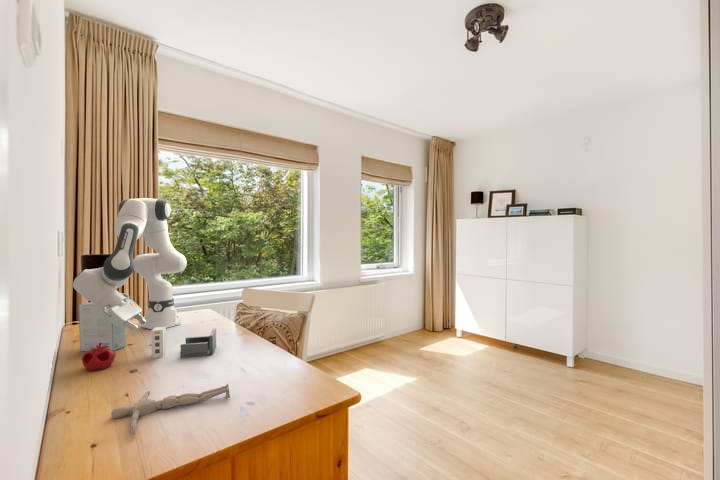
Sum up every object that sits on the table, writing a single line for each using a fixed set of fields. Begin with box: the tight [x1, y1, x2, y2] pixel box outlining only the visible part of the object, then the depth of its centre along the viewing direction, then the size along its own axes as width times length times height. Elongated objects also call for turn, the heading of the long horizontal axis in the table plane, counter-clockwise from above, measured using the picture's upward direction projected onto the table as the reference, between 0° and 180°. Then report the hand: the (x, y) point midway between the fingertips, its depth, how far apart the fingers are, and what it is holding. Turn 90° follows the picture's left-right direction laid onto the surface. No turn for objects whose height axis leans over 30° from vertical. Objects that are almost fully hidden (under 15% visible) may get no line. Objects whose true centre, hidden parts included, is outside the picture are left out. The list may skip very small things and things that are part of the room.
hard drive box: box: [78, 301, 127, 352], centre depth 152 cm, size 16×8×20 cm, turn 84°
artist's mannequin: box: [110, 383, 230, 435], centre depth 101 cm, size 28×4×30 cm
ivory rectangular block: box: [151, 327, 167, 359], centre depth 143 cm, size 5×4×11 cm
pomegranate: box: [81, 342, 116, 371], centre depth 131 cm, size 10×10×9 cm
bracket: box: [179, 328, 217, 358], centre depth 147 cm, size 11×12×8 cm
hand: (140, 326), depth 141 cm, fingers open, 8 cm apart
